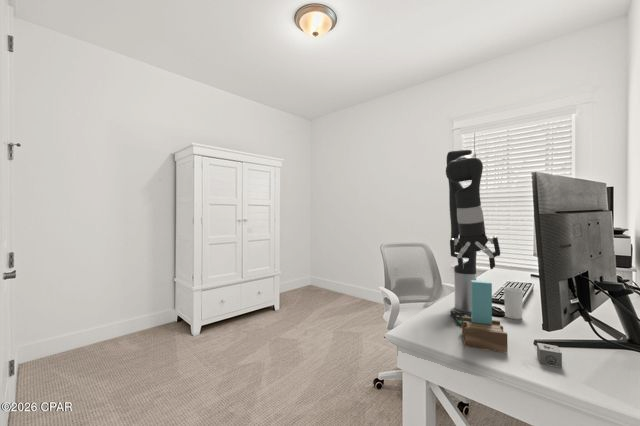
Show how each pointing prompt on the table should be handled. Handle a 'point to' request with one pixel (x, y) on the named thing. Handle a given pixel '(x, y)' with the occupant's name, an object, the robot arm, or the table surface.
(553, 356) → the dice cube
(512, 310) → the mug
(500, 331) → the oak offcut front
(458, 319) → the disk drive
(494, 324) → the walnut rack
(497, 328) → the oak offcut middle
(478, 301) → the teal board
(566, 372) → the table surface
